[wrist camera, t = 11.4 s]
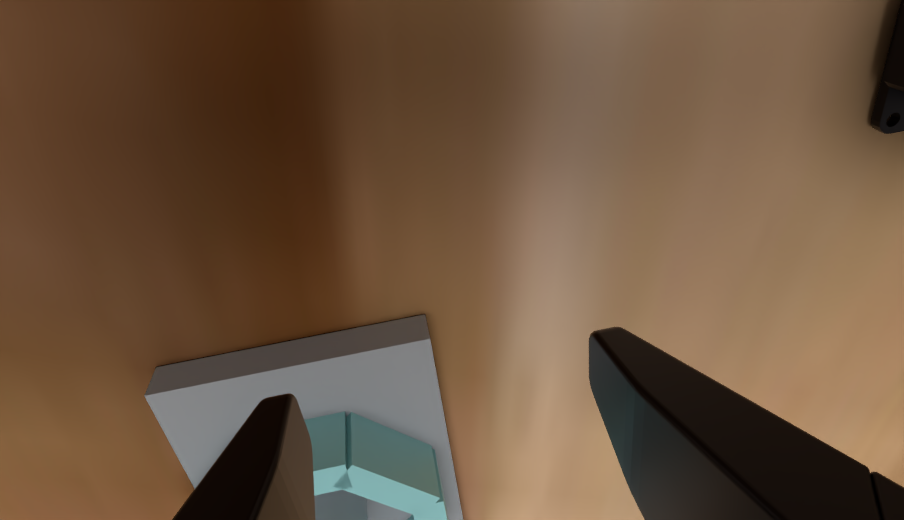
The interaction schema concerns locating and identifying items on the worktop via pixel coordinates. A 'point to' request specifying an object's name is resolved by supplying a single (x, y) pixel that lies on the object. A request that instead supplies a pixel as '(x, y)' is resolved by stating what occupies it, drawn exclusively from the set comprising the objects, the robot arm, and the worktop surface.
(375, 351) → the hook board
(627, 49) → the worktop surface
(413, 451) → the teal ring
